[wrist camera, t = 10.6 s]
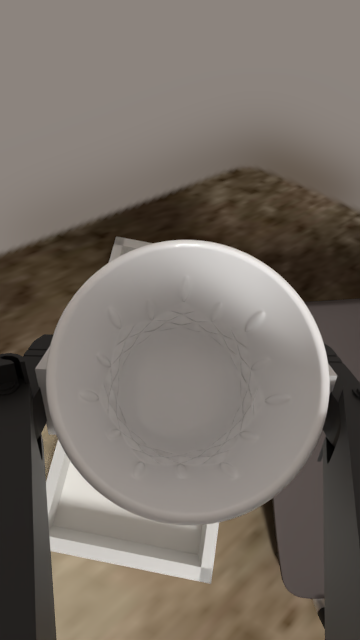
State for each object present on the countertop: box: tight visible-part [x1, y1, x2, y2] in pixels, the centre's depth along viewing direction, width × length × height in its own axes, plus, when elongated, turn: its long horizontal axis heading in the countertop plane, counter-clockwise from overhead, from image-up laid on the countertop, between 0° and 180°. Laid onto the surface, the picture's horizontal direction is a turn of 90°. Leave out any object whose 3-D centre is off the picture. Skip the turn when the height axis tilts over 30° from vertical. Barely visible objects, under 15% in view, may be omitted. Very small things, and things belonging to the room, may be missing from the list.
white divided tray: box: [46, 236, 219, 584], centre depth 26 cm, size 13×24×3 cm, turn 169°
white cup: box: [46, 240, 330, 525], centre depth 13 cm, size 8×8×10 cm
